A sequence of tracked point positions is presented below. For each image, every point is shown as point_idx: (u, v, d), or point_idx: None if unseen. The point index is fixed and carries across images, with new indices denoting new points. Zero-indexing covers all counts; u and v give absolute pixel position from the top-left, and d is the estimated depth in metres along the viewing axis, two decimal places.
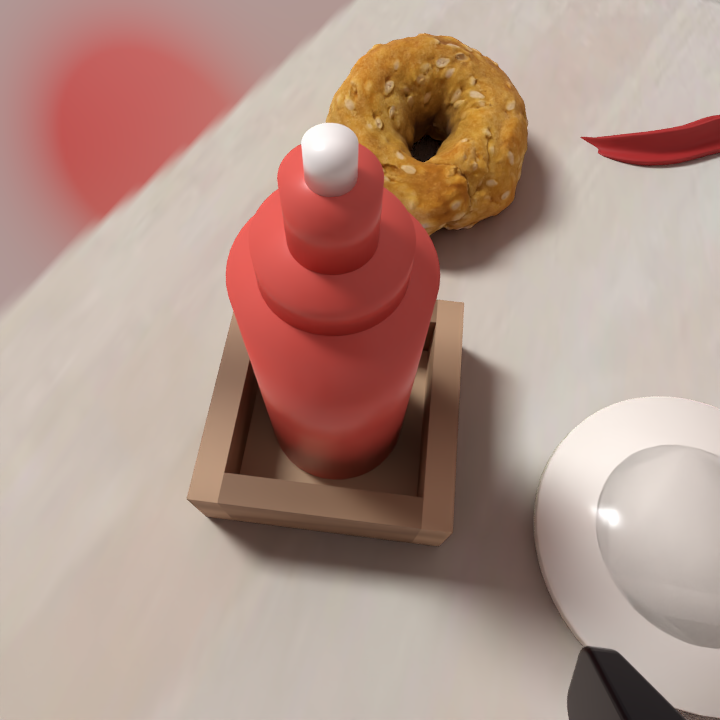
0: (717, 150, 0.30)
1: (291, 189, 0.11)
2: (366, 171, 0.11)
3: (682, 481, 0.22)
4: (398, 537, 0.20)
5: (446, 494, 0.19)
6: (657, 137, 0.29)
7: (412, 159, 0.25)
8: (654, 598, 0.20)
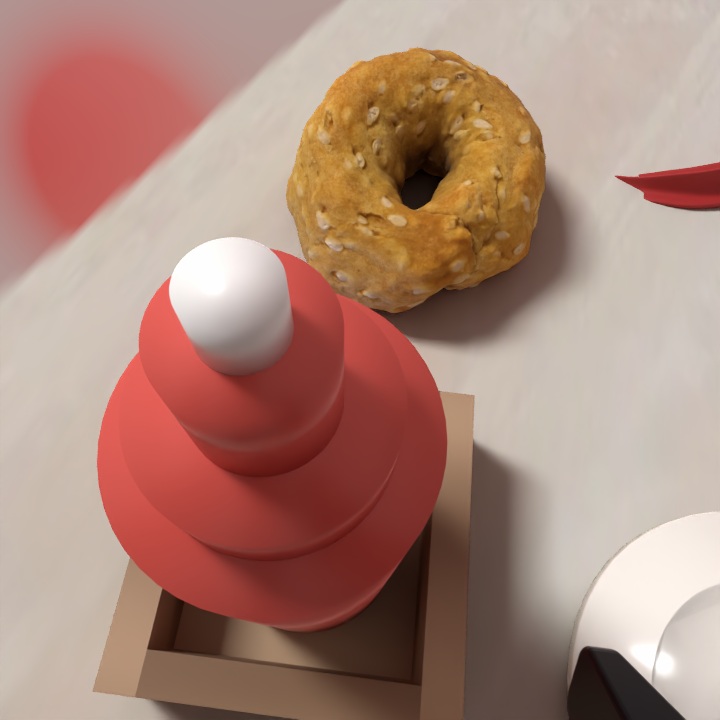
0: None
1: (163, 359, 0.06)
2: (310, 318, 0.06)
3: None
4: None
5: (453, 680, 0.14)
6: (707, 176, 0.24)
7: (402, 207, 0.20)
8: None
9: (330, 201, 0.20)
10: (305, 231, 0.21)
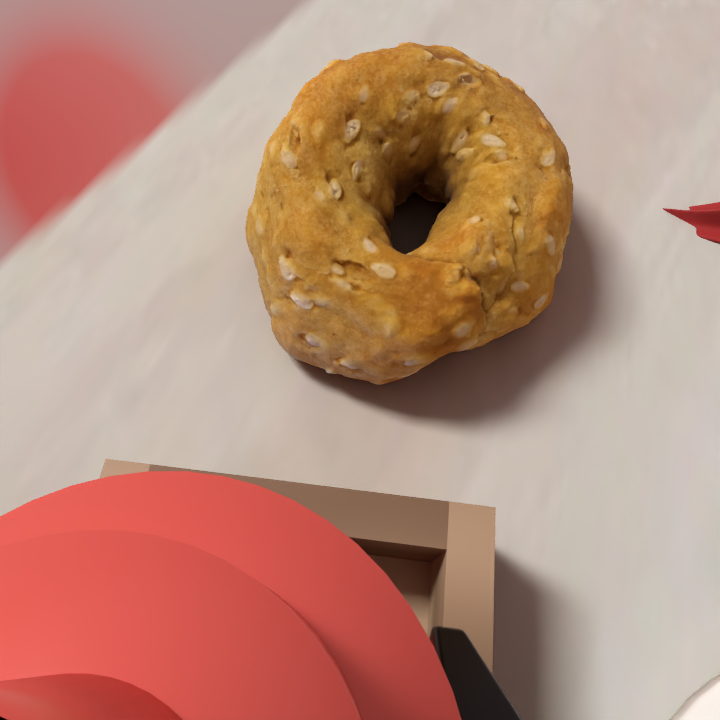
0: None
1: None
2: None
3: None
4: None
5: None
6: None
7: (390, 251, 0.15)
8: None
9: (295, 245, 0.15)
10: (266, 280, 0.16)
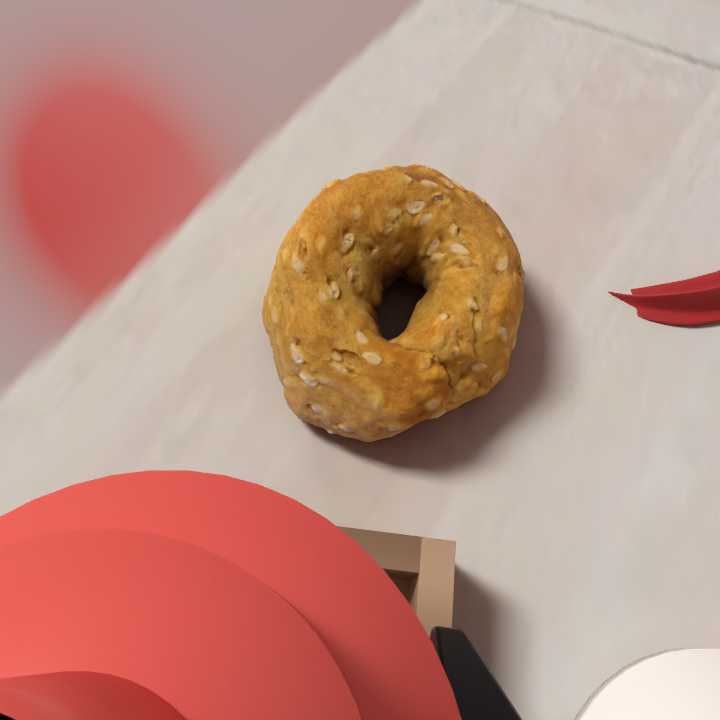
0: None
1: None
2: None
3: None
4: None
5: None
6: (703, 294, 0.23)
7: (377, 342, 0.20)
8: None
9: (304, 336, 0.20)
10: (280, 359, 0.21)
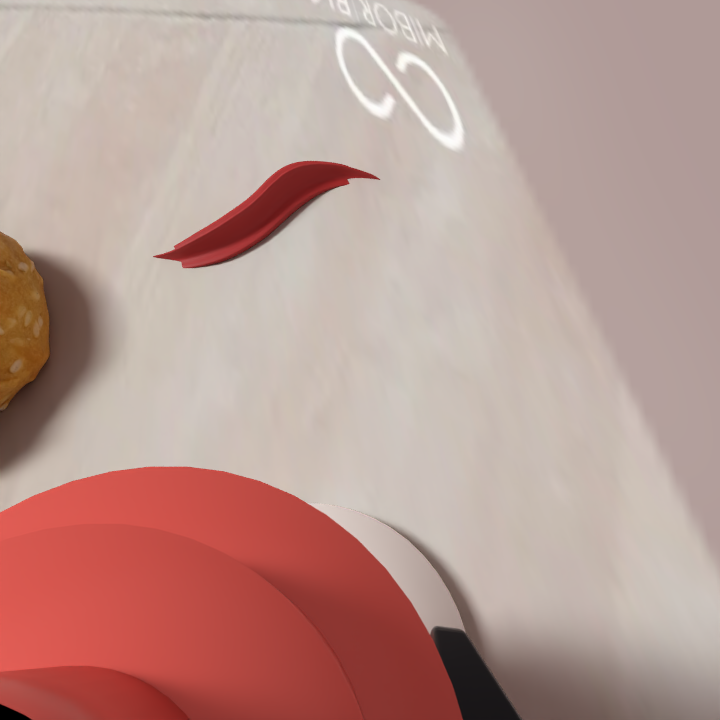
0: (294, 208, 0.27)
1: None
2: None
3: None
4: None
5: None
6: (224, 228, 0.26)
7: None
8: None
9: None
10: None
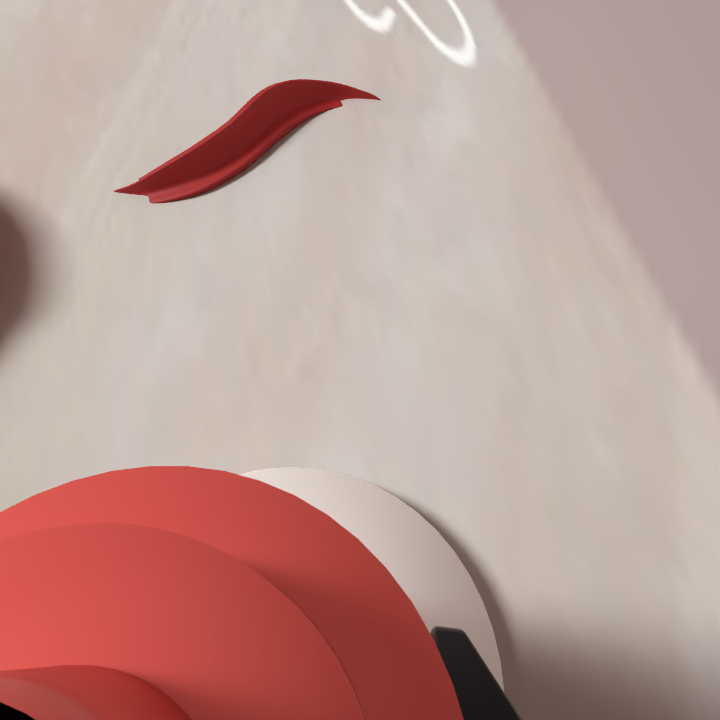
0: (282, 133, 0.23)
1: None
2: None
3: None
4: None
5: None
6: (198, 154, 0.22)
7: None
8: None
9: None
10: None
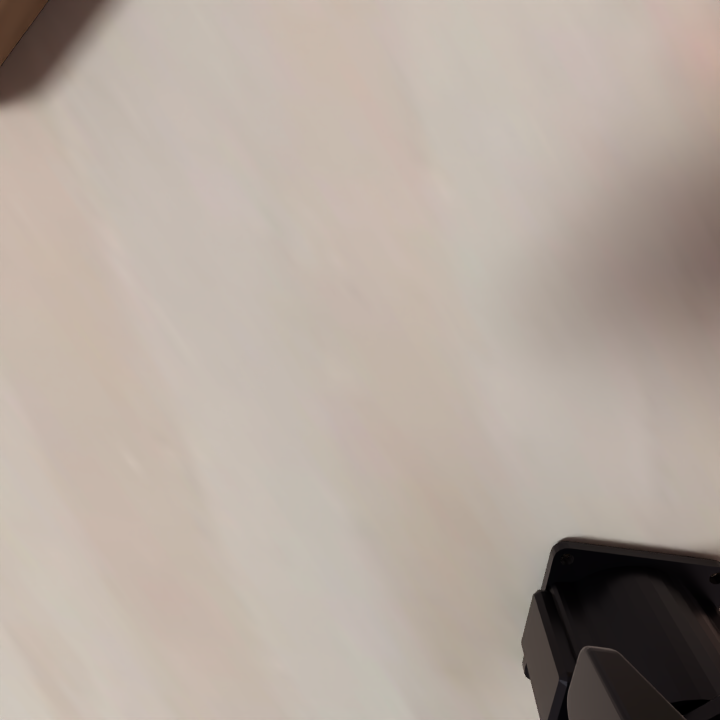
0: None
1: None
2: None
3: None
4: None
5: None
6: None
7: None
8: None
9: None
10: None
